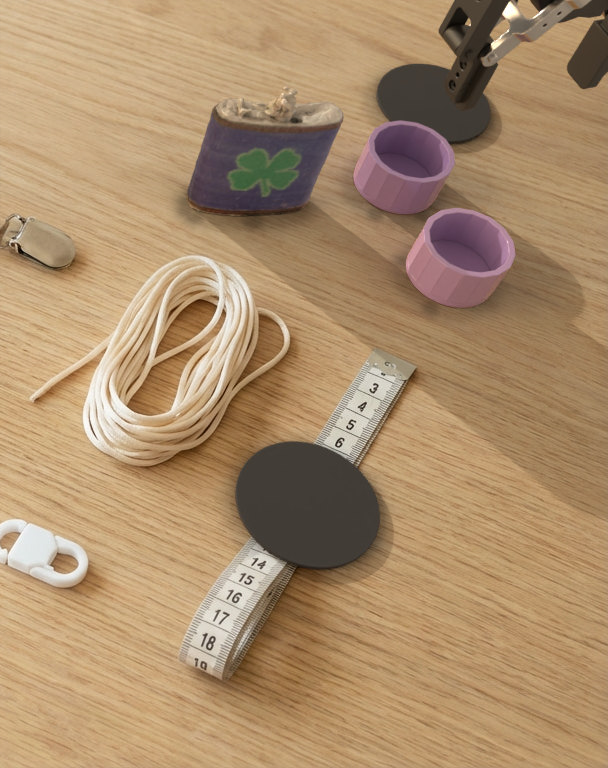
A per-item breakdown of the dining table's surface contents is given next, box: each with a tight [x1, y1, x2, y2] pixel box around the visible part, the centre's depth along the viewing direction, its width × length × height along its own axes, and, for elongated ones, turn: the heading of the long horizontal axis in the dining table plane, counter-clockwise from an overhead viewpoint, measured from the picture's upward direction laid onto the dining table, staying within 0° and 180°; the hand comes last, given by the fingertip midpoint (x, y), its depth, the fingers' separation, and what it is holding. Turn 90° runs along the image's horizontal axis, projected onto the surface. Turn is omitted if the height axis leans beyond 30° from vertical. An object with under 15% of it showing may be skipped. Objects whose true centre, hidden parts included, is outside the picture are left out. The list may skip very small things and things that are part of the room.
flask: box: [185, 86, 345, 217], centre depth 87 cm, size 9×3×11 cm, turn 91°
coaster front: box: [234, 440, 381, 570], centre depth 77 cm, size 9×9×1 cm
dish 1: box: [352, 121, 456, 215], centre depth 91 cm, size 6×6×4 cm
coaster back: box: [375, 63, 492, 145], centre depth 98 cm, size 9×9×1 cm
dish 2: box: [405, 207, 517, 309], centre depth 87 cm, size 6×6×4 cm
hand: (519, 90), depth 74 cm, fingers open, 8 cm apart
